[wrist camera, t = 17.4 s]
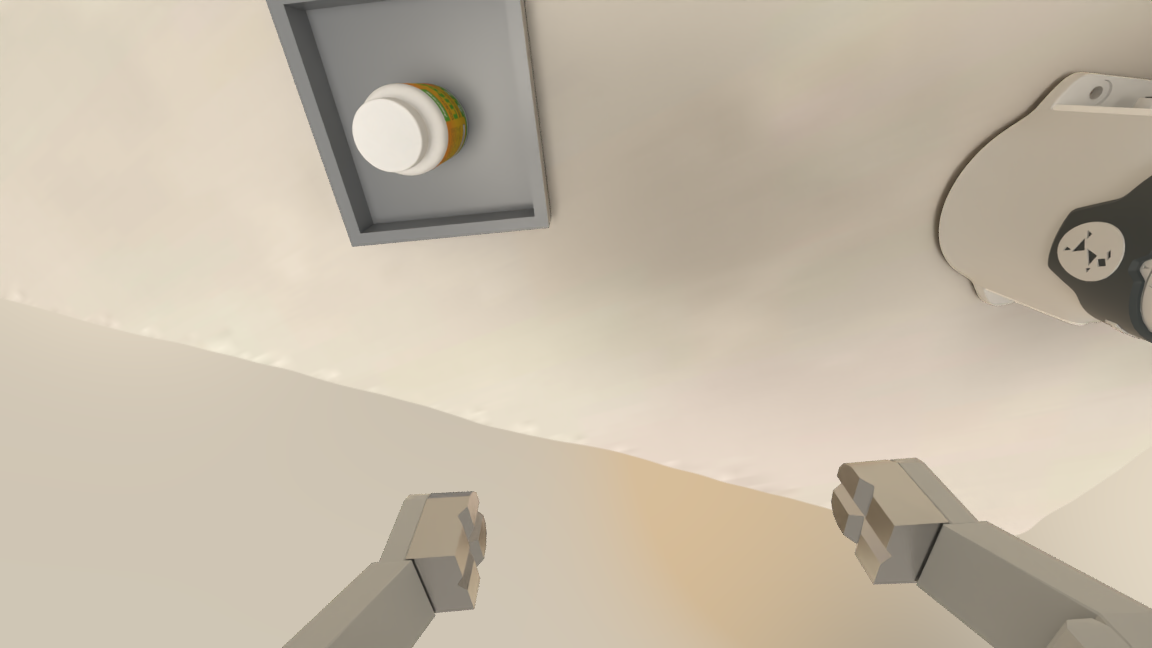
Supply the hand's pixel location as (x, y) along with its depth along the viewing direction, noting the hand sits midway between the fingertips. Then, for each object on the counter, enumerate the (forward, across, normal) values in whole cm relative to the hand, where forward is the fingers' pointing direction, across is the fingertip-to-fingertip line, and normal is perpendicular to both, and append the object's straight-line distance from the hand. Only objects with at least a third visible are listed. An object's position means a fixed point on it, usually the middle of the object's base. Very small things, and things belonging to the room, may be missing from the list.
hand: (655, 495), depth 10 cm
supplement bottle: (+30, +12, -7) cm, 33 cm away
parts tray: (+31, +12, -7) cm, 34 cm away
